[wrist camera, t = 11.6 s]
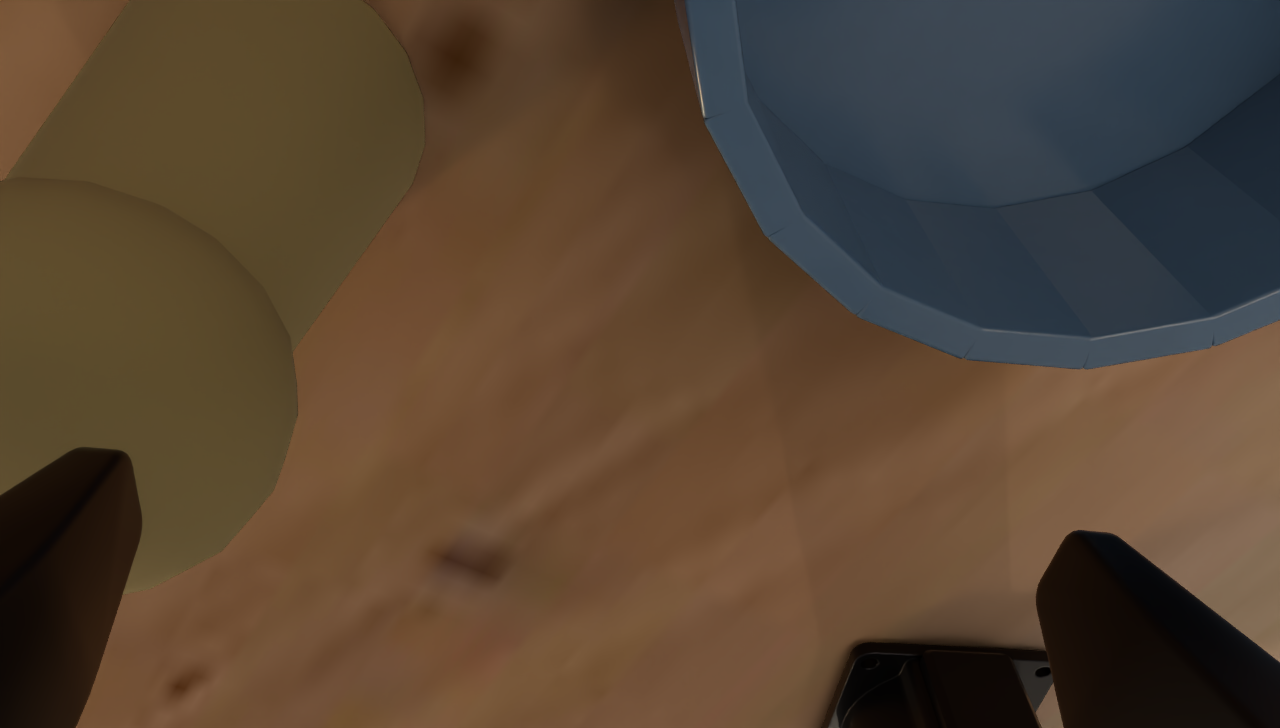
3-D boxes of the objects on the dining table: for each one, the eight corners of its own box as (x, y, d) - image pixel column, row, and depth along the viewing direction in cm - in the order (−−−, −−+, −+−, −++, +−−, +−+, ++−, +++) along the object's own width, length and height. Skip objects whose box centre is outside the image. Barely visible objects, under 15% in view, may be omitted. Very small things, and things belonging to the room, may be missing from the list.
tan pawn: (319, -108, 17) (25, 144, 8) (479, 186, 20) (395, 590, 12) (38, 27, 18) (-491, 377, 9) (232, 284, 22) (-19, 723, 13)
